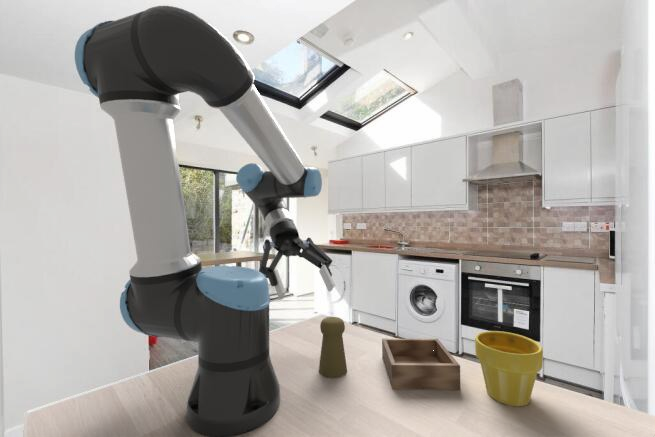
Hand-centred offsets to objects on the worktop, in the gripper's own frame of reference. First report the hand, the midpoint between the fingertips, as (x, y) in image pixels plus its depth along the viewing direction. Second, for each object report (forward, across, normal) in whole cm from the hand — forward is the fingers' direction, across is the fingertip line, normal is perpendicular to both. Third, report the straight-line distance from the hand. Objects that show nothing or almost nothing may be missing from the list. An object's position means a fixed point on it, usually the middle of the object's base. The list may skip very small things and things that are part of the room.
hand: (308, 292), depth 73 cm
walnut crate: (+25, -14, +5) cm, 29 cm away
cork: (+18, 0, -3) cm, 18 cm away
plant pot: (+36, -21, +15) cm, 44 cm away
